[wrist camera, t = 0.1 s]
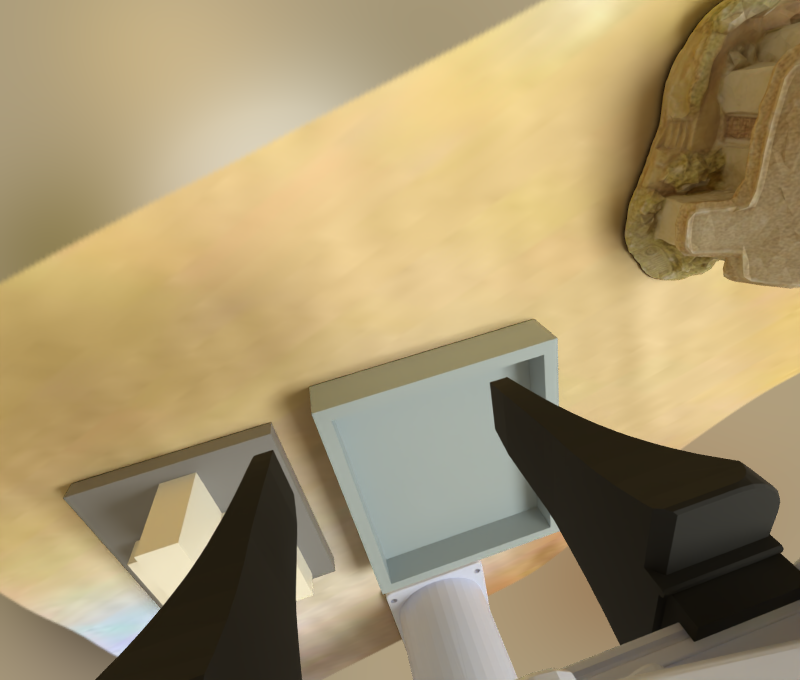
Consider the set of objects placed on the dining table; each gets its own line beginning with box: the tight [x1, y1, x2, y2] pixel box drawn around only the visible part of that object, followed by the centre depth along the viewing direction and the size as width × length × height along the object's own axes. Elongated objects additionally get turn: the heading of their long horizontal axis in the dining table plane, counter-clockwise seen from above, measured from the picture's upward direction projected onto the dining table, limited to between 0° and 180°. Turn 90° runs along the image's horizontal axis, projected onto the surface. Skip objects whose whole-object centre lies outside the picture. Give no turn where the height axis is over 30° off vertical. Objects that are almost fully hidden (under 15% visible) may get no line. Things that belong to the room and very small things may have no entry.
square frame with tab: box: [127, 472, 313, 605], centre depth 24 cm, size 12×8×4 cm
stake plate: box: [63, 423, 335, 608], centre depth 25 cm, size 13×11×5 cm
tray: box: [309, 319, 560, 594], centre depth 28 cm, size 17×14×2 cm
